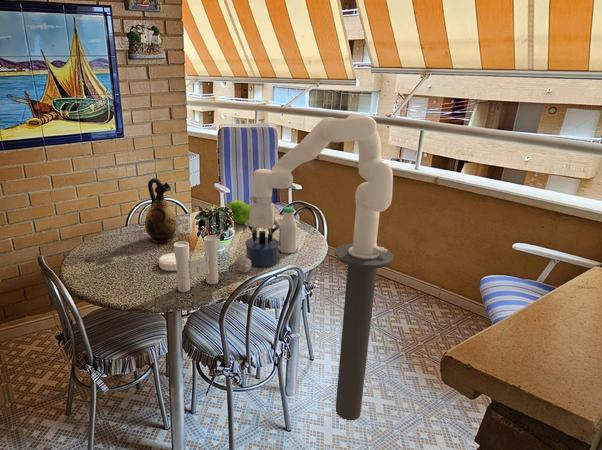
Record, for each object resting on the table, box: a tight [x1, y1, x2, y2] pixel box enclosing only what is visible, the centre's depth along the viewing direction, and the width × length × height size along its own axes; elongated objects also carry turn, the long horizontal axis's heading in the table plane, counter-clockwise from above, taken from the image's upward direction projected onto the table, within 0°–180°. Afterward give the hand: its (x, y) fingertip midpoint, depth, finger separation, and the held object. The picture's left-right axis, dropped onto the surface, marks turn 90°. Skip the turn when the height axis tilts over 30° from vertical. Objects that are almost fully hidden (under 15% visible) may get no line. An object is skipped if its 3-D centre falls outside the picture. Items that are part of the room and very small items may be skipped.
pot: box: [245, 246, 279, 268], centre depth 173 cm, size 13×13×8 cm
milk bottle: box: [278, 206, 298, 254], centre depth 180 cm, size 8×8×20 cm
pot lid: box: [244, 230, 279, 251], centre depth 170 cm, size 14×14×6 cm
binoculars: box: [173, 234, 220, 293], centre depth 151 cm, size 17×5×18 cm, turn 118°
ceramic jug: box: [144, 177, 178, 244], centre depth 195 cm, size 17×15×30 cm
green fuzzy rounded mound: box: [226, 199, 251, 225], centre depth 220 cm, size 13×23×12 cm, turn 25°
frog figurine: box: [234, 255, 252, 273], centre depth 163 cm, size 6×7×7 cm
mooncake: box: [158, 252, 177, 272], centre depth 171 cm, size 12×12×4 cm
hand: (262, 241), depth 171 cm, fingers open, 5 cm apart
